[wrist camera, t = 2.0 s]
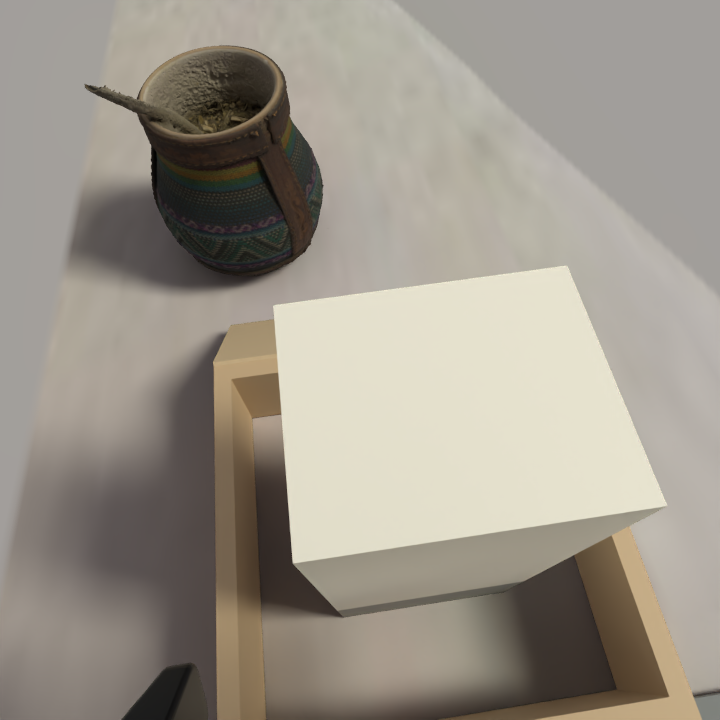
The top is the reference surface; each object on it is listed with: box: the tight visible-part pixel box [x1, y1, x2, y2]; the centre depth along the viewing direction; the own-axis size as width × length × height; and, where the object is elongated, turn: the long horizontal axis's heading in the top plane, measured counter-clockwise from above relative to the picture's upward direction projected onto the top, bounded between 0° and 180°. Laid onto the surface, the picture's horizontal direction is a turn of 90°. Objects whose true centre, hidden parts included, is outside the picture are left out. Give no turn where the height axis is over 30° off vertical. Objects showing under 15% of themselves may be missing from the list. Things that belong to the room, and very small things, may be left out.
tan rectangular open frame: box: [213, 319, 702, 720], centre depth 18 cm, size 19×12×4 cm, turn 8°
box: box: [273, 266, 667, 617], centre depth 14 cm, size 4×6×12 cm
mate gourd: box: [85, 46, 324, 275], centre depth 22 cm, size 7×8×10 cm
